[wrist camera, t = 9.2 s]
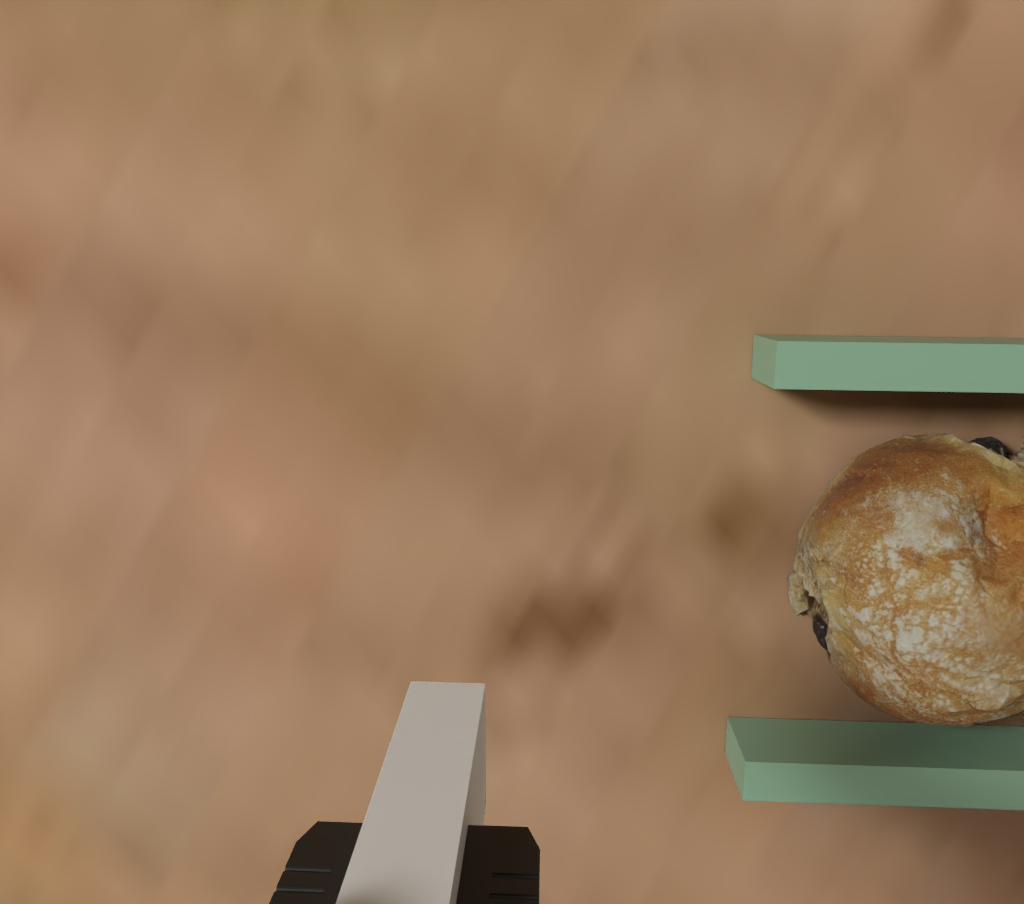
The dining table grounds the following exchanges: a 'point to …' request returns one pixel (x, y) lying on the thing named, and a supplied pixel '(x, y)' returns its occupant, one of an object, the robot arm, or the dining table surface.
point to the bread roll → (921, 578)
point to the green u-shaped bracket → (881, 745)
